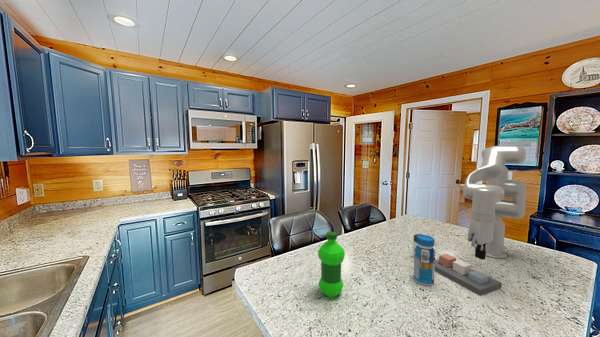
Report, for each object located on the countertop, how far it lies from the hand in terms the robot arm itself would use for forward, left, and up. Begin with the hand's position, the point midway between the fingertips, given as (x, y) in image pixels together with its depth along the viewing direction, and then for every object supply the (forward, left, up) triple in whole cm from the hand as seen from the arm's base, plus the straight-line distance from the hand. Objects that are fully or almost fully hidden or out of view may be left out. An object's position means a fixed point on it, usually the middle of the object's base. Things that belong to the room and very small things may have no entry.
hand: (480, 257), depth 99 cm
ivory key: (+1, -7, -10) cm, 12 cm away
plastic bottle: (+63, -18, -12) cm, 66 cm away
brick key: (+1, -14, -10) cm, 17 cm away
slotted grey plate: (+1, -7, -12) cm, 14 cm away
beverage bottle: (+20, -11, -12) cm, 26 cm away
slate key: (+1, 0, -11) cm, 11 cm away
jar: (+3, -27, -12) cm, 29 cm away
